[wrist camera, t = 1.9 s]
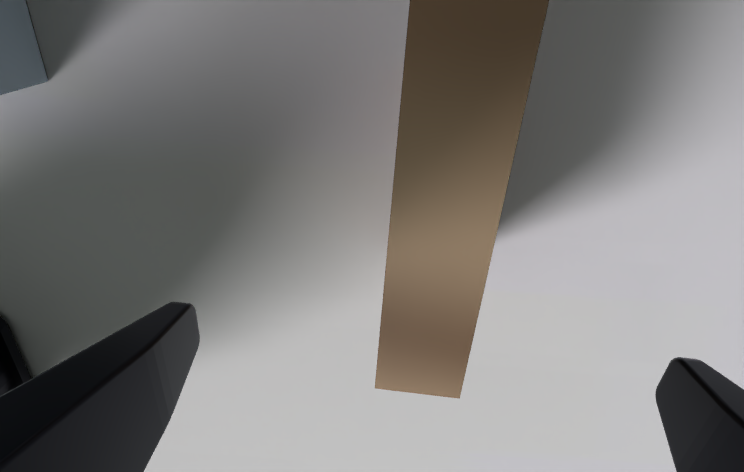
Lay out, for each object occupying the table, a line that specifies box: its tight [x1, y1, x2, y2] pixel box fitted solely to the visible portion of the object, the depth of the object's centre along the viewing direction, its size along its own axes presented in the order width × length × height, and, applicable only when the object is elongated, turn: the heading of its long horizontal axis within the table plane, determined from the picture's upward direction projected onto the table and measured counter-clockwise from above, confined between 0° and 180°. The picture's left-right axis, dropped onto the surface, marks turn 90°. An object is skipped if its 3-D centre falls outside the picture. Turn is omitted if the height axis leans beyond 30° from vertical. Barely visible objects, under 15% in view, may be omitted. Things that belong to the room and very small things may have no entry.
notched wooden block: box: [375, 0, 549, 398], centre depth 9 cm, size 16×2×6 cm, turn 177°
